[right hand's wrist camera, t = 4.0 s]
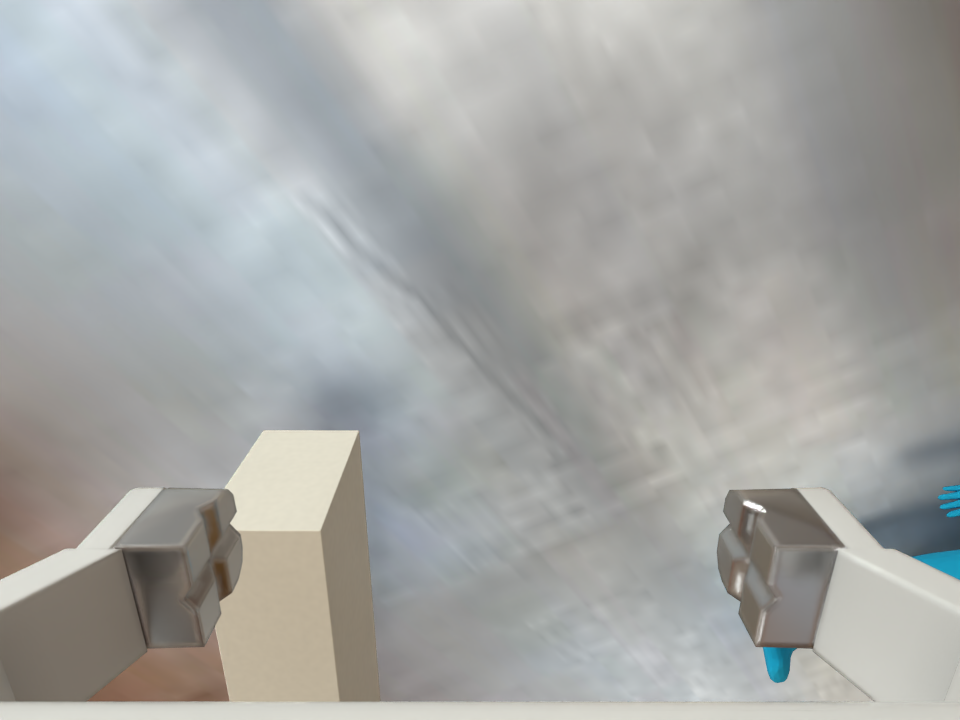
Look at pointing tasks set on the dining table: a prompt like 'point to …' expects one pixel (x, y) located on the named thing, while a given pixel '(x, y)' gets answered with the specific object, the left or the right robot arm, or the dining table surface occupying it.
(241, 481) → the bar
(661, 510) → the dining table surface
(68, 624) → the right robot arm
